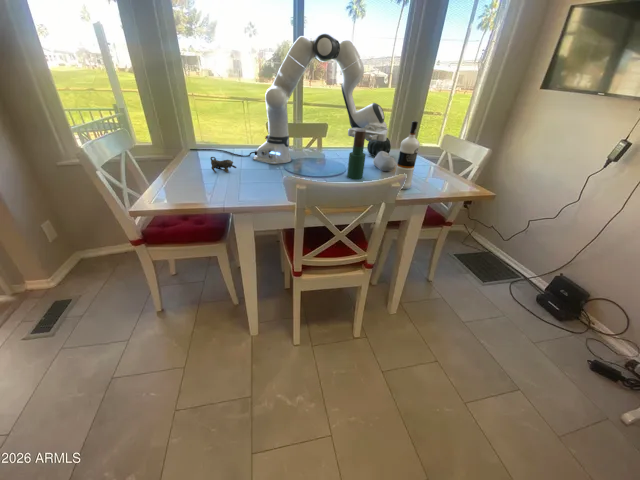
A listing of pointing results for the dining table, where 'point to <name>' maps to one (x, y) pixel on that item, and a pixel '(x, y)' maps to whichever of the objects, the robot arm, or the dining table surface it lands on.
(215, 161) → the dog figurine
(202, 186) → the dining table surface
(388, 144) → the squash
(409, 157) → the vodka
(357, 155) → the bottle
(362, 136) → the stopper
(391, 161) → the decorative stone
